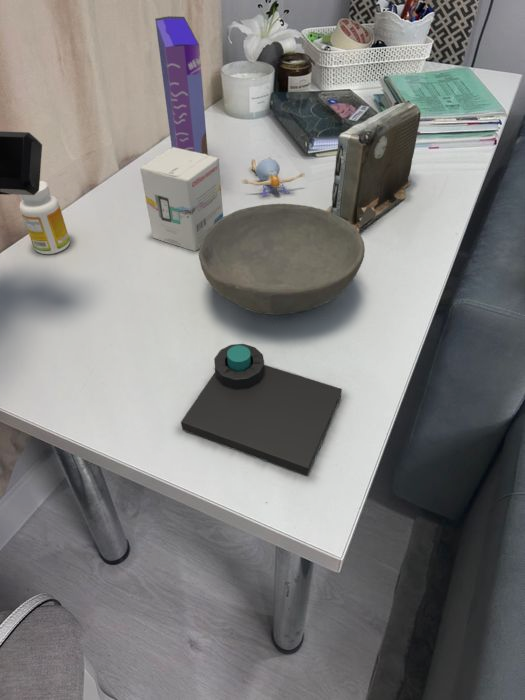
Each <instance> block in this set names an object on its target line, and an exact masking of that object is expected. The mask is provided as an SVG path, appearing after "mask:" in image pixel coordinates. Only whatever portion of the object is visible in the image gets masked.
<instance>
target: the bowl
mask: <svg viewBox="0 0 525 700" xmlns="http://www.w3.org/2000/svg"><path fill="white" fill-rule="evenodd" d="M365 253H366V249H365V241H364V240H363V237H362V235H361V234H360V231H358V230H357V229H356V228H355V227H354V226H353V225H352V224H351V223H349V222H348V221H346V220H345V219H343V218H341V217H339V216H337V215H335V214H332V213H330V212H328V211H326V210H324V209H321V208H317V207H314V206H309V205H303V204H296V203H295V204H294V203H270V204H269V203H268V204H261V205H255V206H248V207H246V208H245V207H244V208H242V209H238V210H236V211H235V210H234V211H233V212H231V213H229V214H227V215H225V216H223V218H222V219H220V220H219V221H218V222H216V223H215V224H214V225H213V226H212V227H211V228H210V229H209V230H208V231H207V233H206V234H205V236H204V238H203V240H202V243H201V245H200V248H199V249H198V260H199V263H200V267H201V270H202V272H203V275H204V277H205V278H206V280H207V281H208V283H209V284H210V286H211V287H212V288H213V290H215V292H216V293H218V294H220V295H221V296H222V297H223V298H225V299H226V300H228V301H229V302H231V303H233V304H235V305H237V306H239V307H241V308H243V309H246V310H248V311H251V312H255V313H258V314H263V315H288V314H289V315H290V314H296V313H303V312H306V311H309V310H313V309H316V308H319V307H320V306H322V305H324V304H326V303H328V302H330V301H332V300H333V299H335V298H336V297H338V296H339V295H340V294H342V293H343V292H344V291H345V290H346V289H347V288H348V287H349V286H350V284H351V283H352V282H353V280H354V279H355V277H356V276H357V273H358V272H359V270H360V268H361V266H362V263H363V261H364V259H365Z"/></svg>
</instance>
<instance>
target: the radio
mask: <svg viewBox="0 0 525 700" xmlns="http://www.w3.org/2000/svg"><path fill="white" fill-rule="evenodd" d="M420 122H421V110H420V108H419V107H418V106H417V105H416V104H415V103H413V102H411V101H410V100H407V101H405V102H401V103H397V104H395V105H393V106H390V107H388V108H386V109H384V110H383V111H381V112H380V111H379V112H378V113H376V114H374V115H373V116H371V117H368V118H367V119H366V120H365V121H362V122H360V123H356V124H354V125H352V126H351V127H350V128H348V129H347V130H345V131H343V132H341V133H340V134H339V136H338V137H337V151H336V154H335V166H334V167H335V168H334V174H333V175H334V176H333V177H334V178H333V183H332V184H333V185H332V191H331V205H330V206H329V207H328V208H327V209H326V210H325V211H328V212H330V213H332V214H335V215H337V216H339V217H341V218H343V219H345V220H346V221H348V222H349V223H351V224H352V225H353V226H354V227H355V228H356V229H357V230H358V232H361V231H362V230H364V229H365V228H366V227H368V225H370V224H371V223H373V222H374V221H376V220H377V219H378V218H380V217H381V216H383V215H384V214H385V213H386V212H388V211H389V210H391V209H393V208H394V207H395V206H396V205H398V203H400V202H401V201H403V200H404V199H405V198H406V196H407V193H406V191H405V190H406V189H407V187H409V186H410V185H411V182H410V181H409V177H410V175H411V170H412V164H413V158H414V154H415V149H416V144H417V138H418V131H419V129H420V128H419V127H420Z"/></svg>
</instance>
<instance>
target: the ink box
mask: <svg viewBox="0 0 525 700" xmlns="http://www.w3.org/2000/svg"><path fill="white" fill-rule="evenodd" d="M139 170H140V175H141V181H142V187H143V191H144V197H145V203H146V208H147V214H148V218H149V224H150V225H149V226H150V230H151V236H152V238H153V239H157V240H159V241H161V242H165V243H168V244H171V245H174V246H177V247H180V248H184V249H187V250H190V251H192V252H197V251H199V249H200V245H201V243H202V240H203V238H204V236H205V234H206V233H207V231H208V230H209V229H210V228H211V227H212V226H213V225H214V224H215V223H216V222H218V221H219V220H220V219H222V218H223V217H224V209H223V197H222V196H223V195H222V185H221V184H222V183H221V171H220V170H221V169H220V158H219V156H214V155H211V154H208V155H206V154H202V153H198V152H193V151H189V150H185V149H180V148H176V147H172V146H171V148H169V149H167V150H166V151H164V152H162V153H161V154H159V155H158V156H156V157H155V158H153V159H152V160H150V161H149V162H147V163H145V164H144V165H143V166H141V167H140V169H139Z"/></svg>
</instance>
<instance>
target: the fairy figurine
mask: <svg viewBox="0 0 525 700" xmlns="http://www.w3.org/2000/svg"><path fill="white" fill-rule="evenodd" d="M251 169H252V171H254V172H255V175H256V177H257V178H258V179H259V180H260V181H249V180H248V179H246V178H243V179H242V183H243V184H247V185H253V186H262V189H263V190H262V191H263V192H262V194H261V197H262V198H265V197H266V196H267V195H269V193H270V192H271V190H273V188H274V189H276V188H279V190H281V191H282V192H283V193H284V194H286V195H289V194H291V193H290V191H288V190H287V188H286V186H285V185H284V183H291V182H293V181H296V180H297V179H299V178H303V177H305V172H303V171H302V172H301V173H299V174H298V175H296V176H294V177H291V178H279V174H280V169H281V168H280V164H279V162H278V161H277V160H275V159H273V158H271V157H270V156H269V157H267V158H264V159H262V160H261V161H260V162H258V164H257V165H256V159H255V158H252V159H251ZM270 187H271V188H270ZM281 187H282V188H281Z"/></svg>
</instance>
